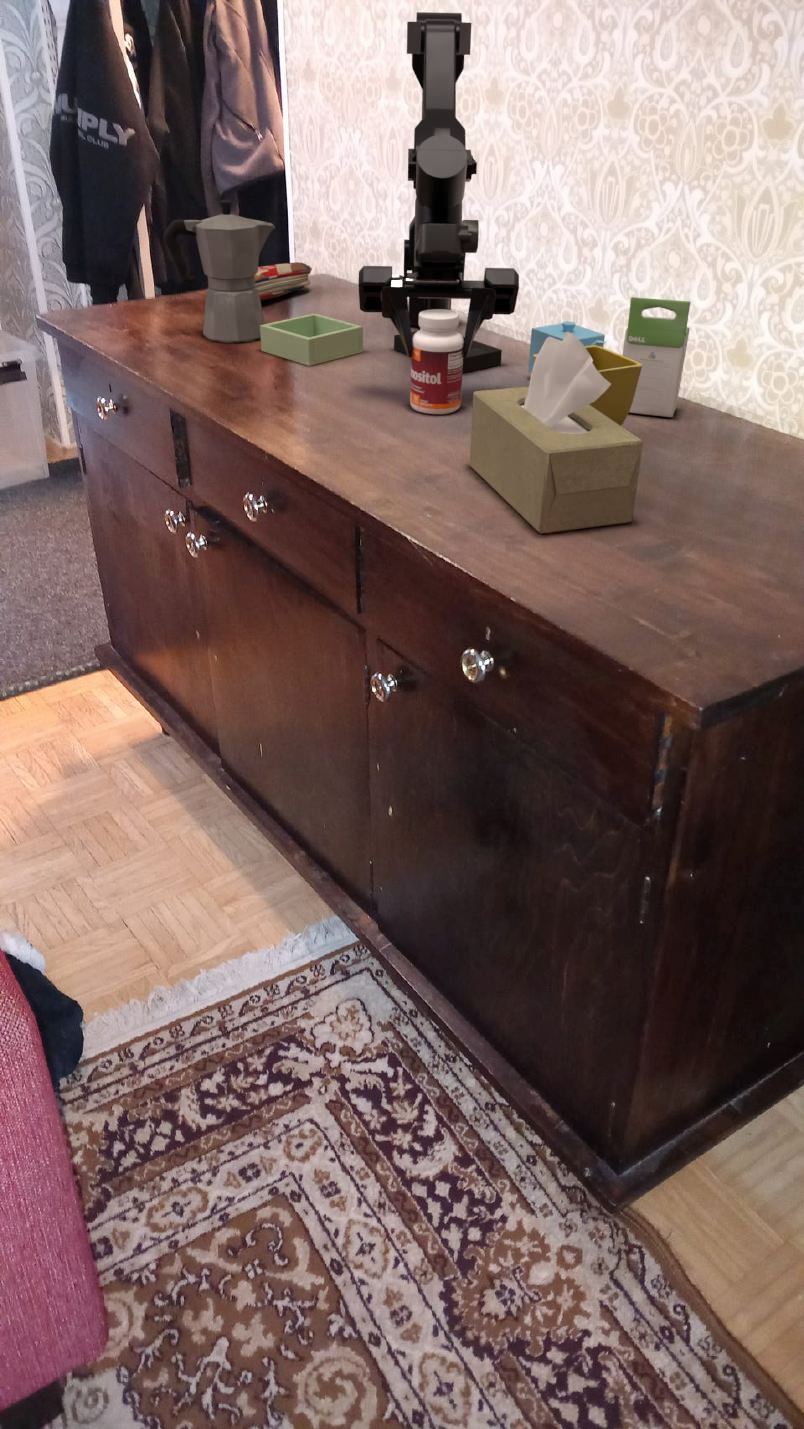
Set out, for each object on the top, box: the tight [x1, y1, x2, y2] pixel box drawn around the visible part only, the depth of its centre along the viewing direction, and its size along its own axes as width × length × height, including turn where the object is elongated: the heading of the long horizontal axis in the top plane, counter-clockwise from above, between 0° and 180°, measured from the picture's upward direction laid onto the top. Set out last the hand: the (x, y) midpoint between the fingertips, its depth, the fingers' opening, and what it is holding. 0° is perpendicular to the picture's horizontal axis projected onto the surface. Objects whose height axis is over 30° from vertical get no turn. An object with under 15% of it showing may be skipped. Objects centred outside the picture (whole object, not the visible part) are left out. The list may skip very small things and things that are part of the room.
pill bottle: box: [409, 309, 464, 415], centre depth 127 cm, size 6×6×11 cm
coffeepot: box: [163, 199, 276, 344], centre depth 151 cm, size 15×9×18 cm, turn 103°
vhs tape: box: [393, 330, 503, 374], centre depth 148 cm, size 8×14×2 cm, turn 38°
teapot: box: [527, 321, 607, 374], centre depth 136 cm, size 12×6×8 cm, turn 33°
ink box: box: [621, 296, 692, 418], centre depth 126 cm, size 7×4×13 cm, turn 71°
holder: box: [260, 312, 364, 367], centre depth 149 cm, size 10×10×4 cm
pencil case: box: [255, 261, 313, 303], centre depth 174 cm, size 11×20×5 cm, turn 133°
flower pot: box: [533, 345, 642, 427], centre depth 119 cm, size 9×9×9 cm
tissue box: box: [469, 331, 644, 535], centre depth 103 cm, size 19×10×16 cm, turn 18°
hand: (437, 355), depth 125 cm, fingers closed on pill bottle, 6 cm apart
